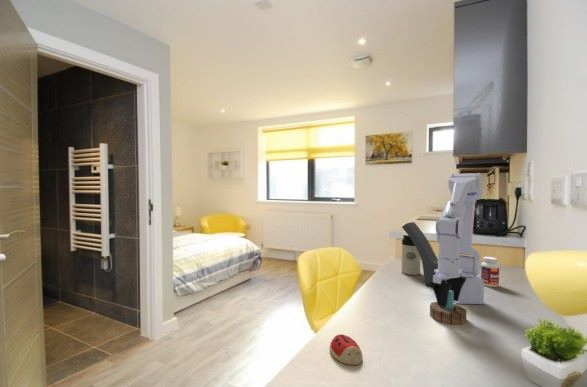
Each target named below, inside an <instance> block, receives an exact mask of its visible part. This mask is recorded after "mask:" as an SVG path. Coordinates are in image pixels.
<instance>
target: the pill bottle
mask: <svg viewBox="0 0 587 387" xmlns="http://www.w3.org/2000/svg"><path fill="white" fill-rule="evenodd" d="M480 277H481V278H482V280H483V283H484V287H490V288H497V287H499V285H500V265H499V264H498V258H496V257H494V256H483V262H481V267H480Z"/></svg>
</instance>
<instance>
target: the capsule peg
mask: <svg viewBox="0 0 587 387" xmlns="http://www.w3.org/2000/svg"><path fill="white" fill-rule="evenodd" d="M454 304H455V302H454V291H452V290H449V293H448V298H447V305H446V307H442V309H444V310H449V311H453V310H454Z"/></svg>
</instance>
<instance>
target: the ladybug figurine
mask: <svg viewBox="0 0 587 387" xmlns="http://www.w3.org/2000/svg"><path fill="white" fill-rule="evenodd" d="M329 350H330V354H331V355H332V356H333V357H334V359H336V360H337V361H338V362H340V363H342V364H345V365H348V366H356V365H358V364H360V363H361V362H362V361H363V354H362V353H363V352H362V350H361V348H360V346H359V344H358V343H357V342H356V341H355V340H354V339H352V338H351V337H350V336H348V335H345V334H342V333H341V334H338V335H335V336H334V337H333V338H332V340H331V342H330V345H329Z"/></svg>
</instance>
